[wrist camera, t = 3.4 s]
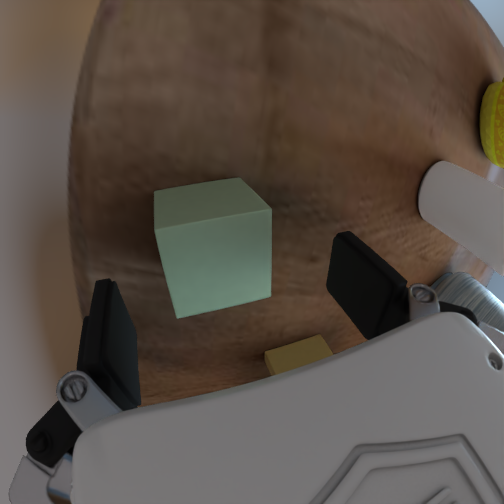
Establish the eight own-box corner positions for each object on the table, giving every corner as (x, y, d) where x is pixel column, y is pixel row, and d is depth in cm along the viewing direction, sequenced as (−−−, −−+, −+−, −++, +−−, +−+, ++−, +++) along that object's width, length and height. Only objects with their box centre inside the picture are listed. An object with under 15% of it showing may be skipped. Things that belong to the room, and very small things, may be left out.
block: (168, 264, 17) (176, 318, 13) (153, 190, 15) (154, 229, 11) (243, 249, 18) (271, 297, 14) (239, 176, 16) (272, 208, 12)
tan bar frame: (226, 419, 31) (252, 488, 23) (212, 365, 24) (247, 467, 15) (336, 381, 35) (372, 438, 27) (359, 318, 28) (416, 389, 20)
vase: (455, 294, 37) (537, 380, 18) (408, 338, 37) (489, 438, 19) (461, 248, 30) (570, 348, 11) (407, 300, 30) (519, 428, 12)
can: (446, 212, 24) (528, 270, 15) (411, 226, 23) (505, 299, 14) (454, 156, 21) (550, 207, 11) (418, 162, 20) (535, 225, 10)
